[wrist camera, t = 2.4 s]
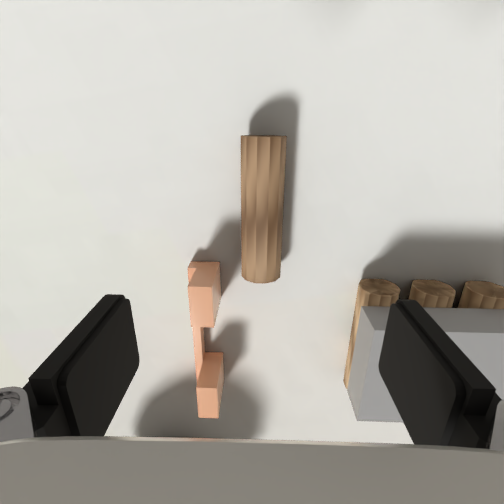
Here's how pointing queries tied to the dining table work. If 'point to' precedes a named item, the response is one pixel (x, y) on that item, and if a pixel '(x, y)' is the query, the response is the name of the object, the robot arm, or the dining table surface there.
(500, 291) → the roller
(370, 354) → the grey slab
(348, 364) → the roller
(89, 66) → the dining table surface
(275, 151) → the roller
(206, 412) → the block
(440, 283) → the roller
